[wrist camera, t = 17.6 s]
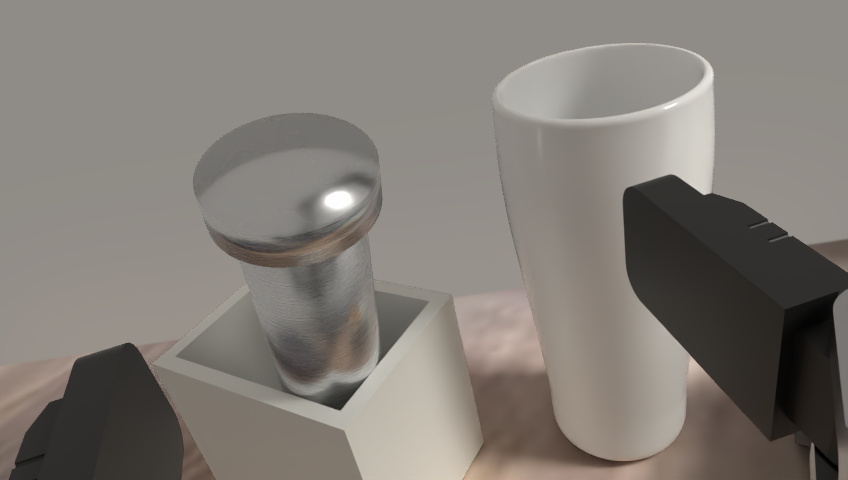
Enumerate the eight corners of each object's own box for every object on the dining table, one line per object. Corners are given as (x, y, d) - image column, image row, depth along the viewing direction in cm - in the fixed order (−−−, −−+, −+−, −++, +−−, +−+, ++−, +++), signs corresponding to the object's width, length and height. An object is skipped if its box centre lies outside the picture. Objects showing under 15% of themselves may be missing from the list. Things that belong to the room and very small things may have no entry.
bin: (322, 391, 33) (272, 259, 29) (484, 442, 29) (451, 294, 24) (227, 501, 29) (152, 363, 24) (401, 583, 24) (344, 430, 20)
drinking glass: (508, 443, 28) (446, 113, 20) (580, 345, 32) (551, 39, 25) (669, 512, 24) (666, 134, 16) (727, 390, 28) (747, 41, 21)
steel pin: (353, 382, 30) (300, 93, 19) (428, 447, 28) (417, 162, 17) (271, 453, 28) (157, 171, 17) (345, 530, 25) (270, 264, 14)
